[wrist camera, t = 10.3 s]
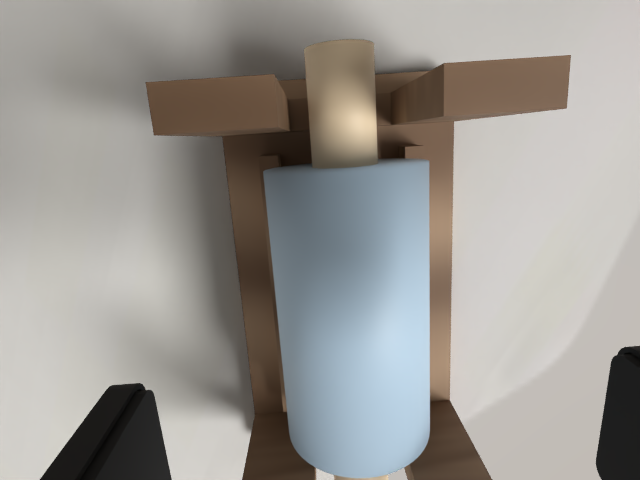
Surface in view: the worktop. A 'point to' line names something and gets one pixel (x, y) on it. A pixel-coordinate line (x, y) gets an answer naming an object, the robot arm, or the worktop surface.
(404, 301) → the blue rolling pin
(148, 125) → the worktop surface
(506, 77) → the holder
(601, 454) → the robot arm
